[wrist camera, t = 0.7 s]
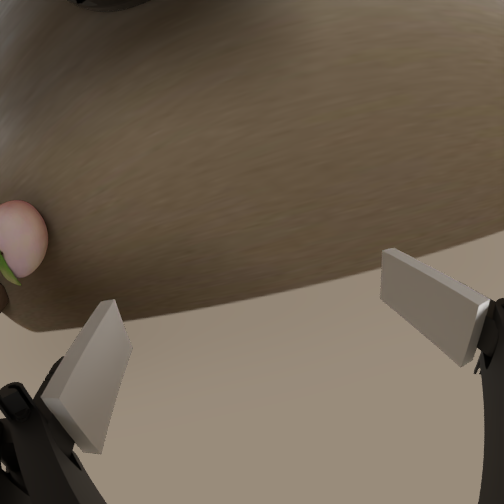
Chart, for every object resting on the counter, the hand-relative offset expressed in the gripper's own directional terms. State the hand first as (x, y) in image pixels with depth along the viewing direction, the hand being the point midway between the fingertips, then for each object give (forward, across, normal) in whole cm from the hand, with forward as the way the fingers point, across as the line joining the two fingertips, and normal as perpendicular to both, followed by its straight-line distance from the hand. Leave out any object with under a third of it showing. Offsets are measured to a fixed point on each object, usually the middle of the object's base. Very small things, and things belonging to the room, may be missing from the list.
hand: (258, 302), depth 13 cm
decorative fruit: (+20, -24, +6) cm, 32 cm away
